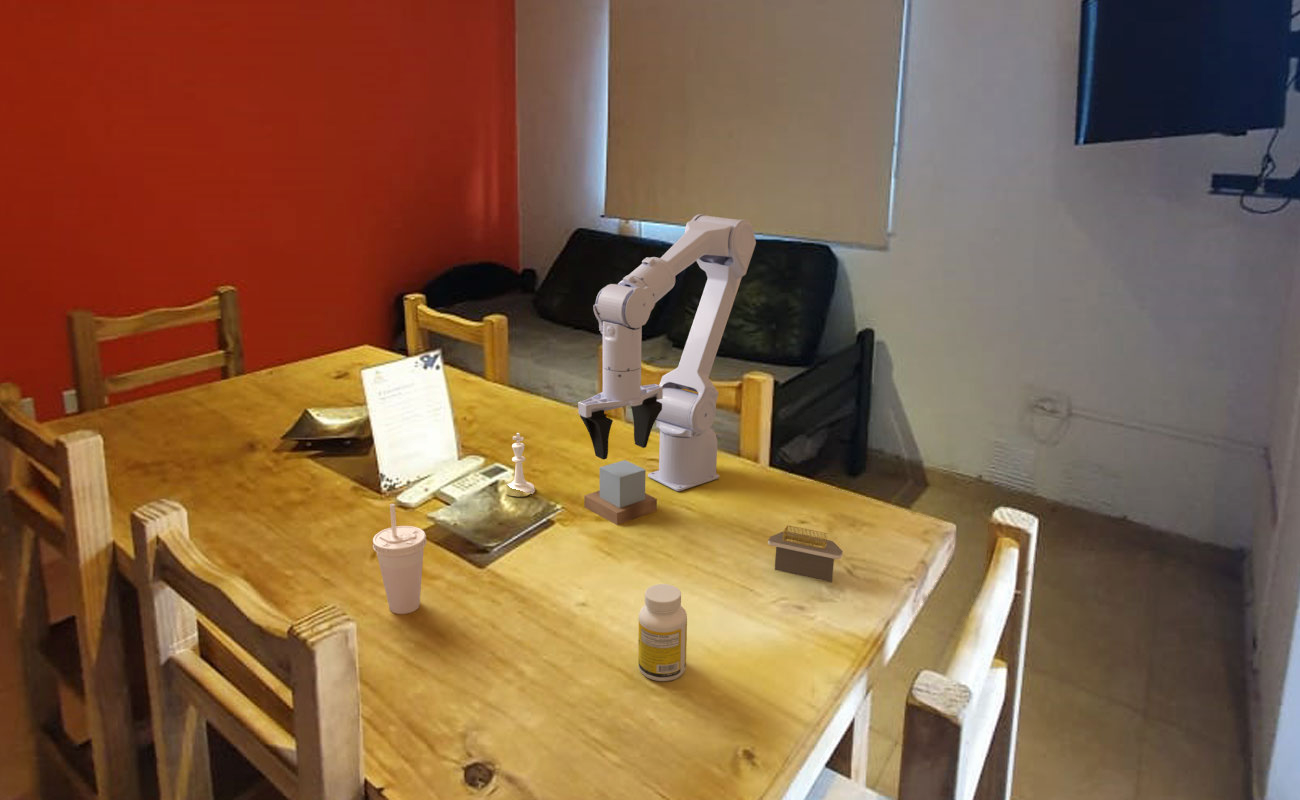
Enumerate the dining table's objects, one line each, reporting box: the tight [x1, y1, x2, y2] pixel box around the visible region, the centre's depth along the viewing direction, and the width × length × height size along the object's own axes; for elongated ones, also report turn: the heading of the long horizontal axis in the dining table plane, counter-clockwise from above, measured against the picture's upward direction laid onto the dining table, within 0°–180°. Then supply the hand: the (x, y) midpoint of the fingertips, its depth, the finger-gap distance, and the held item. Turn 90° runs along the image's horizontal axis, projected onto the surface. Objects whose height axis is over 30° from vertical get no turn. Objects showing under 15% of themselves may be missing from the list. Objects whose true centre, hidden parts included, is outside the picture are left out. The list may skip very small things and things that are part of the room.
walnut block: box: [583, 490, 658, 526], centre depth 145 cm, size 8×8×2 cm
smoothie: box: [372, 503, 428, 615], centre depth 115 cm, size 6×6×14 cm
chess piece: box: [506, 432, 536, 495], centre depth 149 cm, size 5×5×10 cm
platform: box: [767, 524, 844, 583], centre depth 127 cm, size 12×18×7 cm, turn 67°
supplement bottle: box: [638, 583, 688, 682], centre depth 105 cm, size 5×5×10 cm
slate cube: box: [599, 459, 646, 508], centre depth 144 cm, size 5×5×5 cm
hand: (621, 451), depth 143 cm, fingers open, 7 cm apart
